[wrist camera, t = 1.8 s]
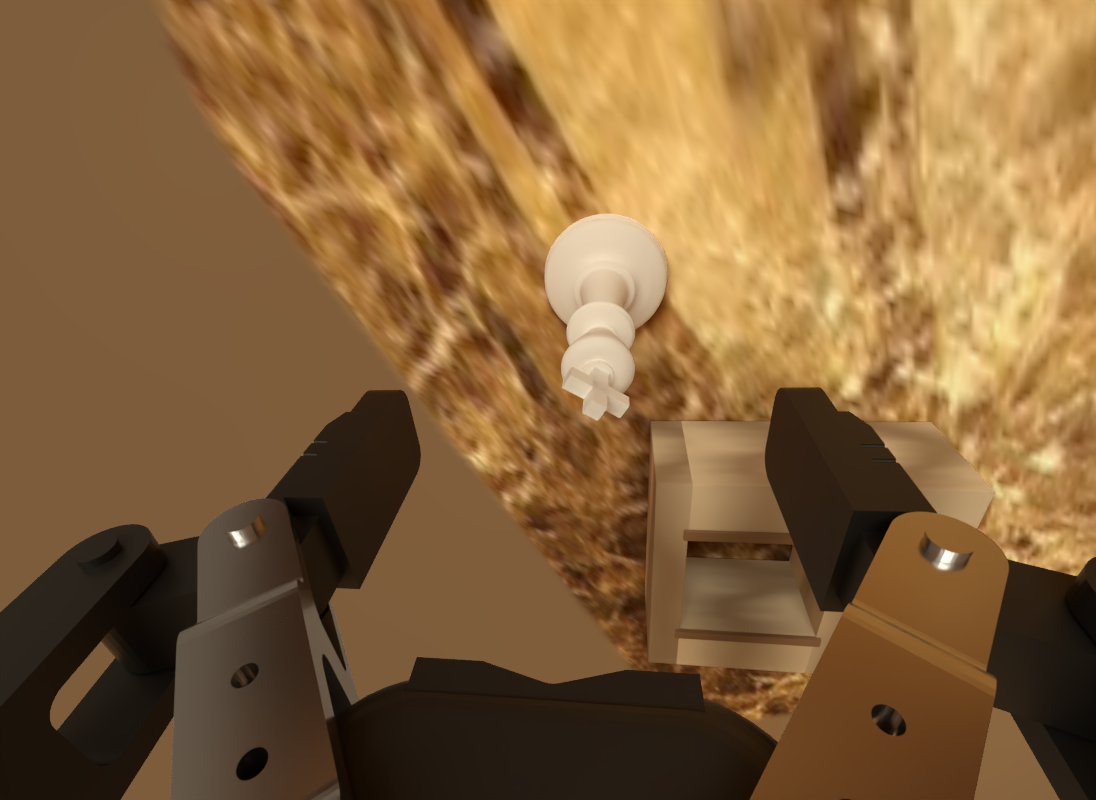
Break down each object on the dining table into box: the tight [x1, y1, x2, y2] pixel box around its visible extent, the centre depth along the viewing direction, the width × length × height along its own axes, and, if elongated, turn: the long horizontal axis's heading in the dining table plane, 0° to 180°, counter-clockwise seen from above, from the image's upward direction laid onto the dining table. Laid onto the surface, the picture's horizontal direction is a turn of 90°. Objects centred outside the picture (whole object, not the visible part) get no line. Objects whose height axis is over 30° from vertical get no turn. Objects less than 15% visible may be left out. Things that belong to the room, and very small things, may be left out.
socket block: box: [645, 421, 995, 674], centre depth 24 cm, size 12×12×5 cm
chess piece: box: [545, 214, 668, 421], centre depth 16 cm, size 5×5×10 cm
